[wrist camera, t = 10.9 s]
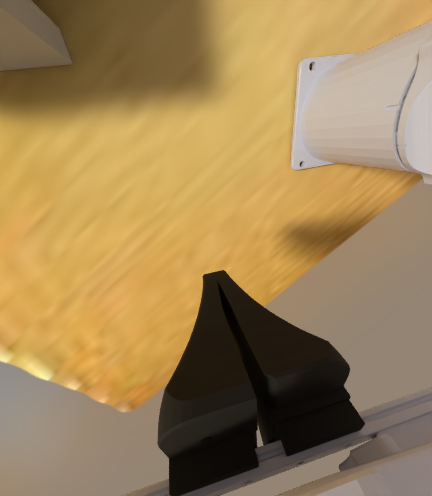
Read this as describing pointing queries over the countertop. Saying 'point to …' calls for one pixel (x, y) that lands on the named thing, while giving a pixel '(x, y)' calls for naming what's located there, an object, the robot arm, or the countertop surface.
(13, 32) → the large grey box
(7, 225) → the countertop surface
